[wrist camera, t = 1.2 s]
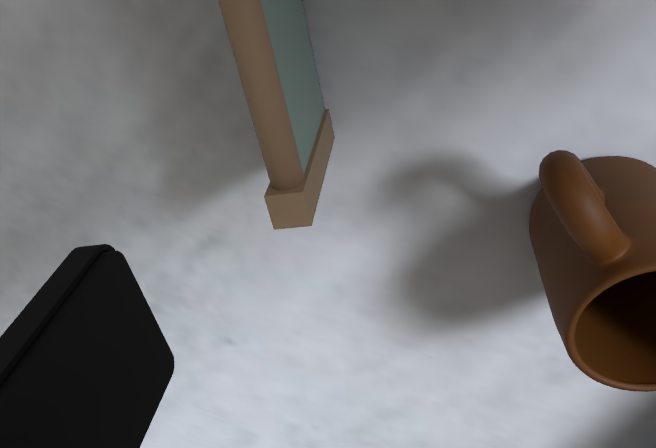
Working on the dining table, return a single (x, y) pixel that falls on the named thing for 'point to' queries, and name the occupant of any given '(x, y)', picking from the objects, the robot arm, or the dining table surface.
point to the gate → (282, 103)
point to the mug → (600, 263)
